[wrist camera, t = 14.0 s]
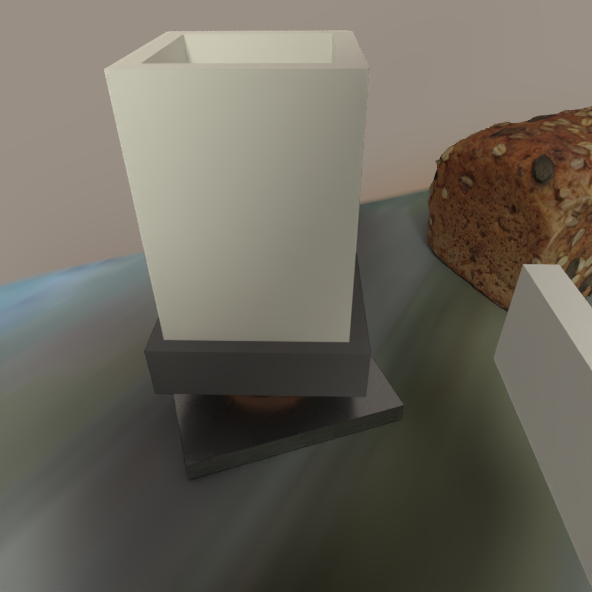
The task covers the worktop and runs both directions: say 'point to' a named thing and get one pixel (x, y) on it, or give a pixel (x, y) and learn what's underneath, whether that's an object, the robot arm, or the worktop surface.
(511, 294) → the bread
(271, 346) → the dark grey square slab
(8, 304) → the worktop surface
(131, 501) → the worktop surface
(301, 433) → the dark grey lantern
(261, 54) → the sleeve
